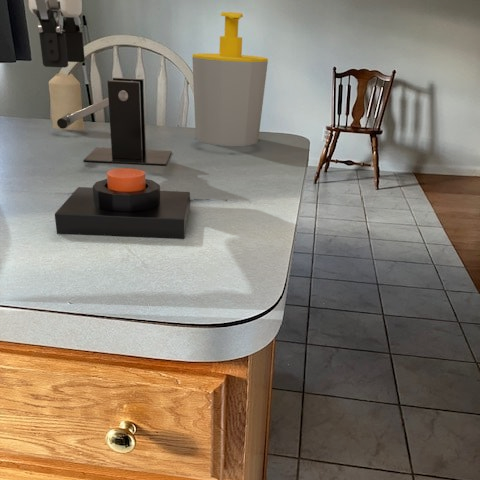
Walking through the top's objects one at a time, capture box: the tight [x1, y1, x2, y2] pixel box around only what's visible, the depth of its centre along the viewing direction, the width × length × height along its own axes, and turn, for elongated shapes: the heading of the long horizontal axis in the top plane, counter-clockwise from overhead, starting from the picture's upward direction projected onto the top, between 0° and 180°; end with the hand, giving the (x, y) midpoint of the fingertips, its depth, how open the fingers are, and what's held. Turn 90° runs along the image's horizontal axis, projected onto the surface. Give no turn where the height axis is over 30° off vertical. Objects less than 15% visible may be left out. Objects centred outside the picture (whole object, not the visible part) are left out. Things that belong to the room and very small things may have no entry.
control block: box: [54, 178, 191, 240], centre depth 59 cm, size 13×10×4 cm
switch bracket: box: [82, 77, 172, 167], centre depth 81 cm, size 12×9×12 cm
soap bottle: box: [191, 11, 269, 147], centre depth 95 cm, size 13×13×21 cm
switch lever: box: [57, 97, 109, 130], centre depth 79 cm, size 12×5×2 cm, turn 92°
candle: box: [48, 72, 85, 131], centre depth 100 cm, size 6×6×10 cm
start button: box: [106, 167, 146, 192], centre depth 58 cm, size 4×4×2 cm
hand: (65, 64), depth 77 cm, fingers open, 9 cm apart
